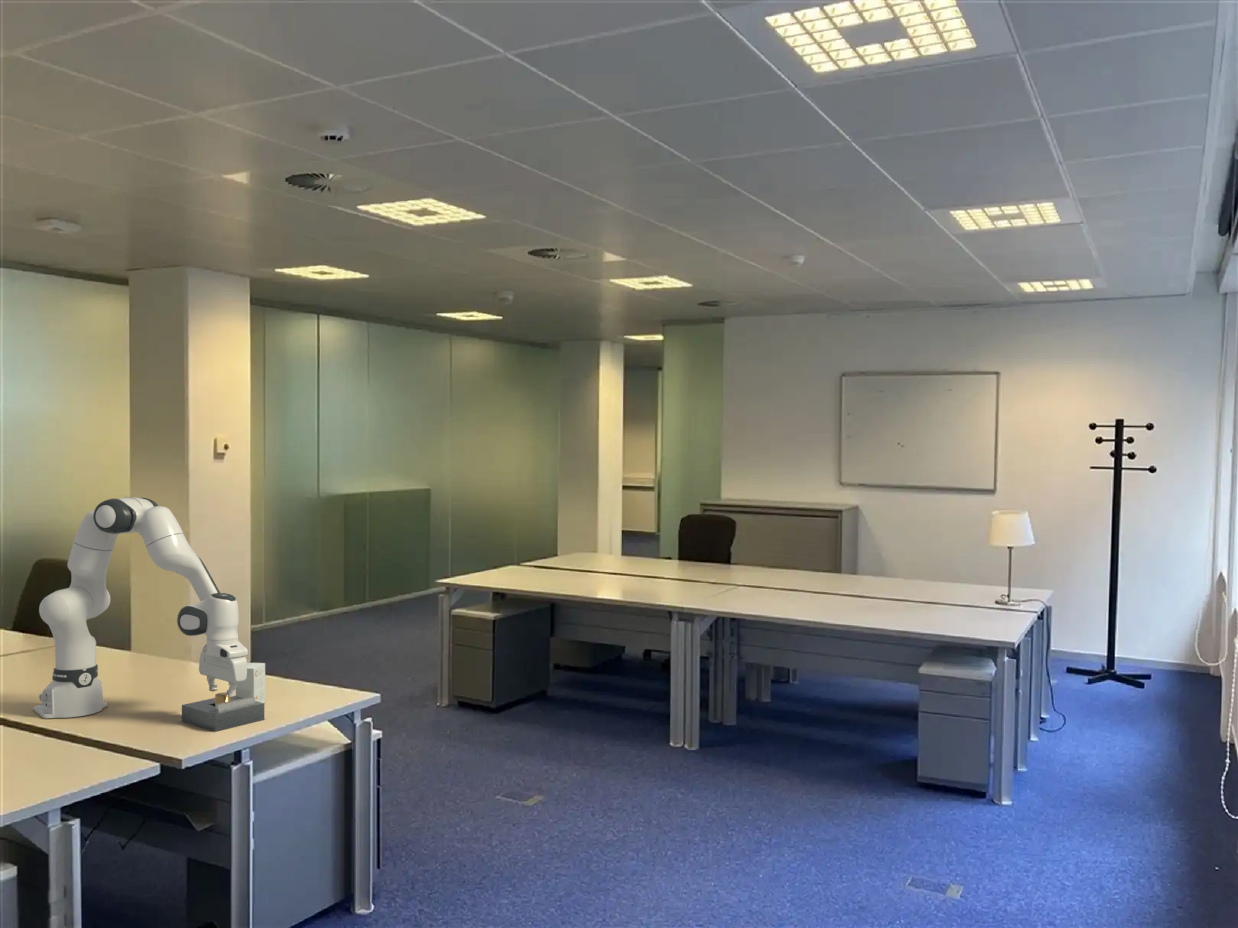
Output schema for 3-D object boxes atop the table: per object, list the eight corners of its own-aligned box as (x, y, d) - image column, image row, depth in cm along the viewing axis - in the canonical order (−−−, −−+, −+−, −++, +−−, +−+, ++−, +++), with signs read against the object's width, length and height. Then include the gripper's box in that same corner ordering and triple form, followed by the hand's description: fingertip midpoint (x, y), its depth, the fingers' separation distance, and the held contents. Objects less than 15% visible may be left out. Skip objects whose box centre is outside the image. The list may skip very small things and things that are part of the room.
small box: (246, 702, 314) (246, 662, 314) (265, 702, 314) (265, 662, 314) (234, 708, 306) (234, 667, 306) (254, 709, 306) (254, 668, 306)
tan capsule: (212, 720, 292) (212, 694, 292) (225, 717, 296) (225, 691, 296) (220, 723, 290) (220, 696, 290) (233, 720, 293) (233, 693, 293)
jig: (181, 721, 292) (181, 698, 292) (230, 710, 305) (230, 688, 304) (215, 731, 281) (215, 707, 281) (264, 719, 294) (264, 696, 294)
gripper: (193, 644, 296) (193, 689, 296) (232, 653, 284) (231, 700, 284) (213, 641, 301) (212, 686, 301) (251, 650, 289) (250, 696, 289)
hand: (221, 693), depth 293 cm, fingers open, 8 cm apart
